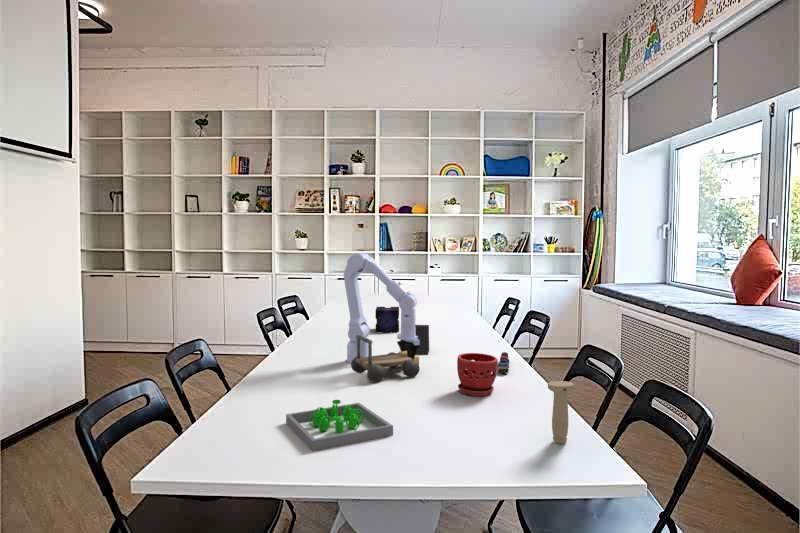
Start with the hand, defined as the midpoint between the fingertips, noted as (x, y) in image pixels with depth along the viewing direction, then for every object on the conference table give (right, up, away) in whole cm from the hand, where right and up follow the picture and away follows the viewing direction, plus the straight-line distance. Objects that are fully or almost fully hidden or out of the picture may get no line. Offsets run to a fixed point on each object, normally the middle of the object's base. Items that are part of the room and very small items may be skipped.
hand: (408, 360), depth 218 cm
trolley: (-9, -3, -13) cm, 16 cm away
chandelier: (-21, -7, -65) cm, 69 cm away
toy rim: (-20, -7, -68) cm, 71 cm away
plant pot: (+22, -5, -35) cm, 41 cm away
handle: (+37, -8, -78) cm, 86 cm away
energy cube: (-10, +2, +76) cm, 77 cm away
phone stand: (+6, -1, +25) cm, 26 cm away
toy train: (+37, -3, -3) cm, 37 cm away
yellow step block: (0, -2, 0) cm, 2 cm away
